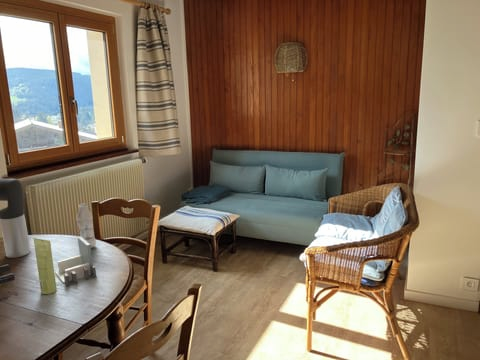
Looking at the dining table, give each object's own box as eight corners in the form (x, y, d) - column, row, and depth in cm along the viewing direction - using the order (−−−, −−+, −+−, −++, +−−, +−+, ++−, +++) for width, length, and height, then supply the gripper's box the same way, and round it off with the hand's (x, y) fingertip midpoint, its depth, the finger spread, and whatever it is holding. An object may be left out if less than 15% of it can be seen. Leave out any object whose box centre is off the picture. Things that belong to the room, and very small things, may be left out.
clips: (65, 284, 142) (63, 274, 141) (94, 274, 149) (93, 265, 148) (66, 286, 140) (65, 276, 139) (96, 276, 147) (95, 267, 146)
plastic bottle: (91, 251, 170) (85, 207, 165) (77, 250, 171) (71, 206, 166) (99, 245, 176) (94, 202, 171) (85, 244, 177) (80, 202, 173)
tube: (59, 286, 141) (51, 235, 136) (58, 292, 136) (50, 240, 131) (41, 289, 139) (33, 237, 134) (40, 296, 134) (31, 243, 130)
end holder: (55, 273, 151) (50, 243, 148) (84, 264, 158) (80, 236, 155) (63, 283, 143) (58, 252, 140) (94, 273, 149) (90, 244, 146)
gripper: (-50, 286, 112) (14, 268, 122) (-53, 269, 123) (5, 254, 133) (-45, 309, 114) (18, 290, 124) (-49, 290, 125) (9, 274, 135)
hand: (11, 271), depth 129 cm, fingers open, 8 cm apart
